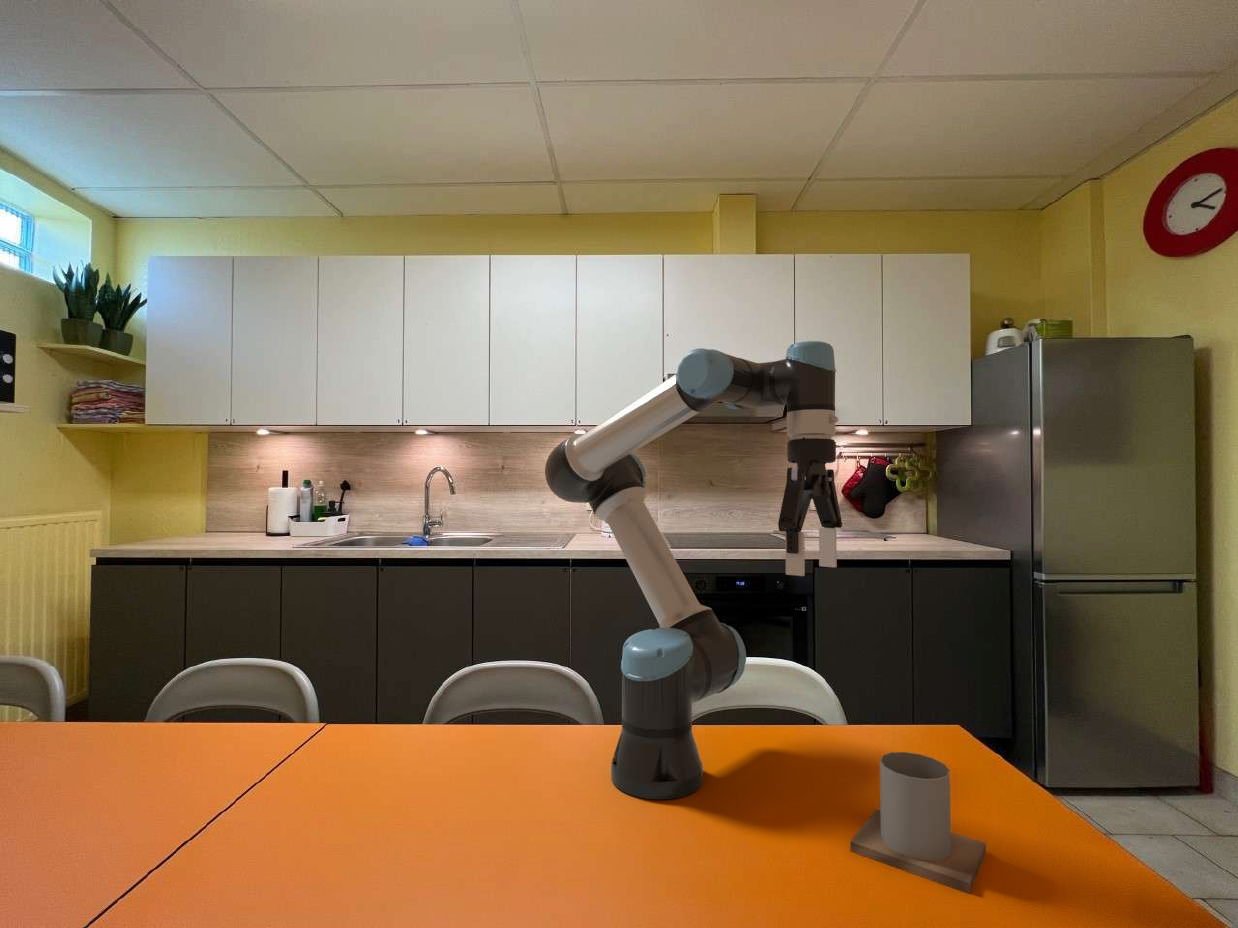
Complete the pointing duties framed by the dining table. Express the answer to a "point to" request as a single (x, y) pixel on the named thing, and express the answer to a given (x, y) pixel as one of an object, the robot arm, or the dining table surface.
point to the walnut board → (948, 871)
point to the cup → (915, 805)
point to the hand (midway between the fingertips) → (812, 570)
